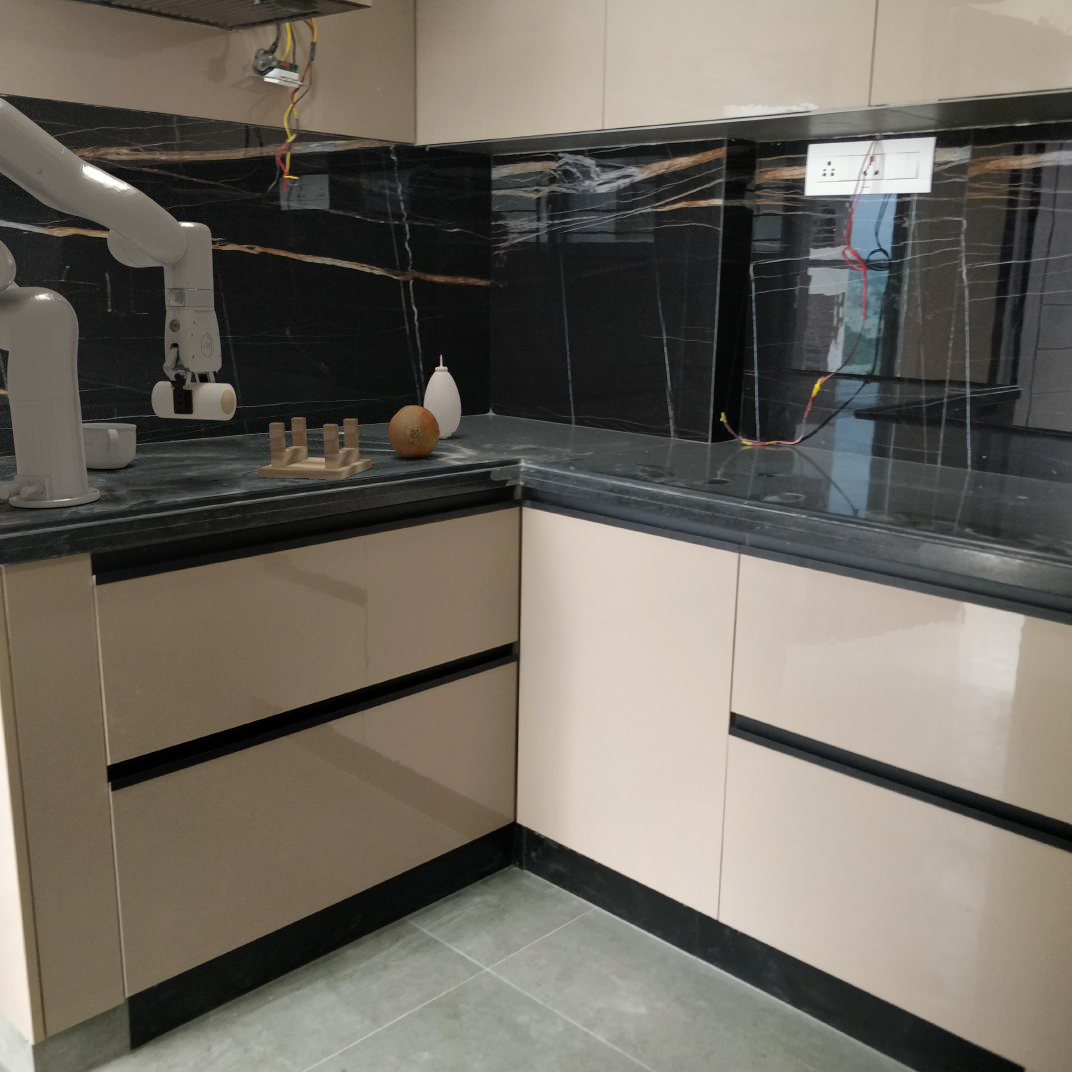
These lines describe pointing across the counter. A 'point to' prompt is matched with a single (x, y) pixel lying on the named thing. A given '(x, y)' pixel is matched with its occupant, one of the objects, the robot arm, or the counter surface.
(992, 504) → the counter surface
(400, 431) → the orange
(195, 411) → the towel roll
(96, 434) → the teacup
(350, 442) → the roll holder
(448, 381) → the sauce bottle
